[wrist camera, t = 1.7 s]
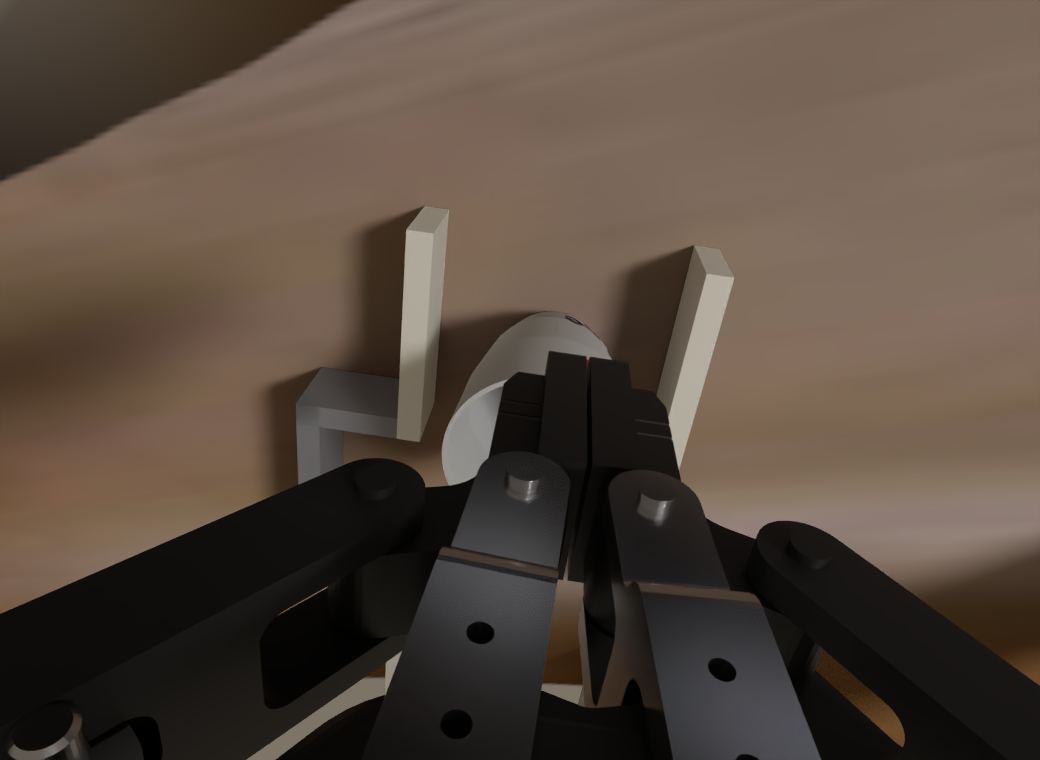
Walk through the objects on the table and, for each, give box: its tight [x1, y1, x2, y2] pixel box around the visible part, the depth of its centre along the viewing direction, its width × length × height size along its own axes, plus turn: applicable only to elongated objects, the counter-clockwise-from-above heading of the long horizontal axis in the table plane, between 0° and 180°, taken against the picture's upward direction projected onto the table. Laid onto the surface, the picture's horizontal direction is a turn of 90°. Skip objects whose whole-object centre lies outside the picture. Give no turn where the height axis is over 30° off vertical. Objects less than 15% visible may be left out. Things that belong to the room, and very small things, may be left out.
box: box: [296, 206, 734, 707], centre depth 42 cm, size 25×39×4 cm, turn 173°
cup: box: [442, 311, 612, 486], centre depth 33 cm, size 8×8×10 cm
